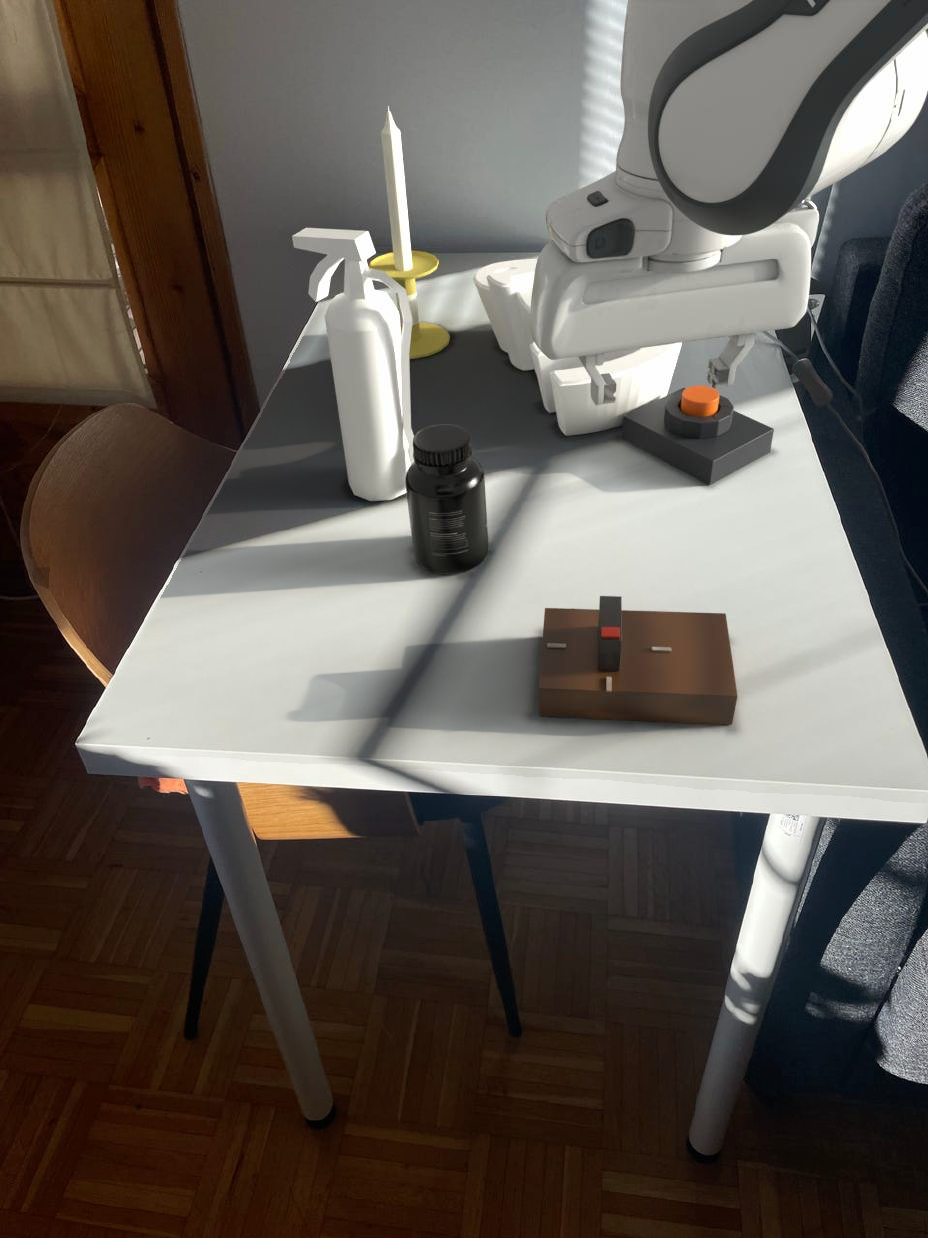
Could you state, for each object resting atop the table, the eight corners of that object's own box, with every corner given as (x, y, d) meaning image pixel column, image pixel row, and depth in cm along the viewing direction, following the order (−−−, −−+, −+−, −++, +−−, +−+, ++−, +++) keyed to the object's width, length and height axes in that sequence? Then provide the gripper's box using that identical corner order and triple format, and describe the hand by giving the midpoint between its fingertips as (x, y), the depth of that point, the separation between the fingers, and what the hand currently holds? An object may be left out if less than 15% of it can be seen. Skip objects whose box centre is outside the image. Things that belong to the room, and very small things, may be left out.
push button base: (770, 452, 97) (777, 412, 94) (709, 485, 93) (715, 444, 90) (681, 409, 104) (685, 371, 101) (621, 438, 100) (624, 399, 97)
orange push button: (725, 409, 96) (727, 394, 94) (700, 422, 94) (702, 406, 93) (697, 397, 98) (699, 381, 97) (673, 409, 96) (674, 393, 95)
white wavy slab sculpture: (697, 439, 99) (708, 343, 92) (544, 465, 97) (544, 368, 90) (591, 308, 125) (594, 226, 118) (468, 326, 123) (464, 243, 116)
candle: (372, 362, 117) (341, 121, 99) (370, 328, 125) (341, 98, 107) (453, 354, 117) (437, 113, 100) (446, 321, 125) (430, 91, 107)
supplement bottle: (502, 544, 87) (498, 428, 80) (463, 586, 83) (454, 467, 75) (440, 524, 90) (430, 410, 83) (398, 563, 86) (384, 447, 78)
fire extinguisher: (420, 520, 91) (393, 257, 75) (320, 488, 96) (275, 235, 80) (457, 485, 95) (440, 229, 79) (360, 456, 100) (325, 210, 84)
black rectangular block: (598, 625, 74) (600, 593, 72) (619, 626, 74) (621, 593, 71) (597, 670, 70) (599, 637, 68) (619, 671, 70) (622, 638, 68)
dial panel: (721, 640, 76) (725, 610, 74) (732, 726, 69) (738, 695, 67) (544, 634, 78) (544, 605, 76) (539, 717, 71) (538, 687, 69)
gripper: (802, 176, 68) (770, 356, 77) (523, 208, 66) (524, 391, 75) (845, 204, 64) (806, 392, 73) (547, 240, 61) (545, 430, 70)
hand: (661, 392), depth 74 cm, fingers open, 8 cm apart
